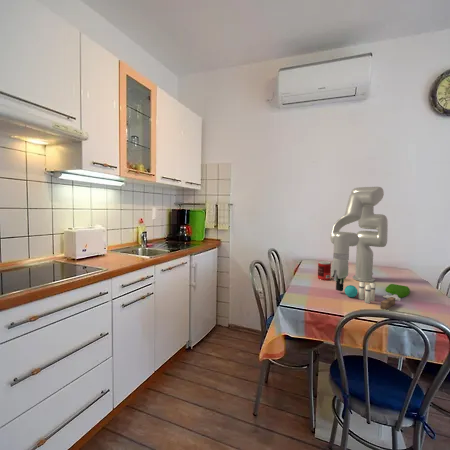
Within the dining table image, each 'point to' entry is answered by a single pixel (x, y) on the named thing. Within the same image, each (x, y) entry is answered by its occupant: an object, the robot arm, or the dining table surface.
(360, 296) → the front pin
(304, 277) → the dining table surface
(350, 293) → the ball
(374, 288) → the back pin far
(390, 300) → the brown wooden bar
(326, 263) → the canned food
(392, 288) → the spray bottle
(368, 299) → the back pin near
